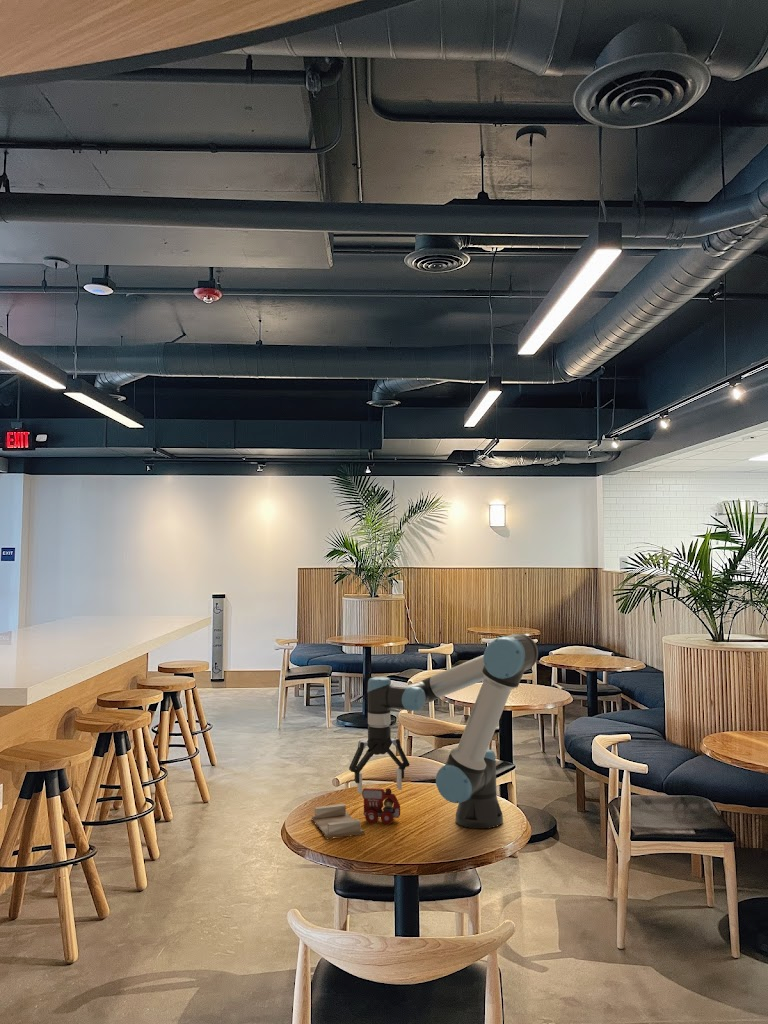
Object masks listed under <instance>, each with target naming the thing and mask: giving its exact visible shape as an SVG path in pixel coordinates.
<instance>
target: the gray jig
mask: <svg viewBox="0 0 768 1024" xmlns="http://www.w3.org/2000/svg"><path fill="white" fill-rule="evenodd" d="M346 807H347V806H346V804H345V803H339V804H331V805H324V806H315V807H314V816H311V820H312V819H313V821H314V822H315V823H316V825H317V826H318V827H319V829H320V830H321V831H322V833H323V834H324V835H325V837H326V838H333V837H341V838H344V837H343V836H348V837H351V836H350V835H355V836H360V835H364V834H365V830H364V829H363V828H362V827H361V820H360V819H359V818H356V819H355V818H354V819H353V817H352V816H351V815H350V814H349V813H348V812H347V810H346ZM313 821H312V822H313ZM314 822H313V823H314ZM315 823H314V824H315ZM316 825H315V826H316ZM317 826H316V827H317ZM318 827H317V828H318ZM319 829H318V830H319ZM320 830H319V831H320ZM321 831H320V832H321ZM322 833H321V834H322ZM323 834H322V835H323ZM324 835H323V836H324ZM325 837H324V838H325ZM326 838H325V839H326Z"/></svg>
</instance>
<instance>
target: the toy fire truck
mask: <svg viewBox="0 0 768 1024" xmlns="http://www.w3.org/2000/svg"><path fill="white" fill-rule="evenodd" d="M361 795H362V798H363V816H364V818H365V821H366V823H368V824H370V825H373V824H375V823H377V822H378V820H379V818H380V820H381V823H382V824H384V825H391V824H392V823H393V821H394V819H398V818H399V817H400V816H401V805H400V803H399V800H398V799H397V796H396V794H395V793H392V789H391V788H390V787H387V788H386V789H383V788H371V787H369V788H367V787H364V788H362V794H361Z"/></svg>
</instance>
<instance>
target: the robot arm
mask: <svg viewBox="0 0 768 1024" xmlns="http://www.w3.org/2000/svg"><path fill="white" fill-rule="evenodd" d="M538 658H539V649H538V646H537V643H536V642H535V641H534V639H533V638H531V637H530V636H528V635H526V634H524V633H523V634H522V633H514V634H510V635H503V636H500V637H497V638H496V639H494V640H492V641H491V642H489V644H488V645H487V646H486V648H485V650H484V652H483V655H480V656H479V655H478V656H477V657H474V658H473V659H470V660H467V661H465V662H463V663H461V664H458V665H455V666H453V667H451V668H449V669H446V670H443V671H442V672H439V673H437V674H434V675H432V676H430V677H427V678H424V679H422V680H420V681H417V682H414V683H409V684H407V685H399V684H398V685H397V684H396V685H395V684H392V683H391V679H390V677H385V676H375V677H370V678H369V679H368V681H367V724H368V726H367V741H362V740H358V744H357V749H356V751H355V753H354V755H353V759H352V761H351V762H350V765H349V767H348V770H349V771H350V772H352V773H354V782H355V784H357V787H356V788H357V793H358V794H359V795H362V791H363V773H362V772H361V771H362V770H363V769H364V768H365V766H366V764H367V763H368V761H370V759H371V758H372V757H373V756H374V755H375V756H378V755H385V754H386V753H387V754H388V756H389V757H390V758H391V759H392V760H393V762H394V763H395V764H396V765H397V766H398V767H396V789H398V790H399V791H402V787H403V785H402V784H403V783H402V779H405V770H406V768H408V767H410V762H409V761H408V758H407V756H406V754H405V753H404V750H403V748H402V746H401V740H400V739H399V738H397V737H394V738H393V739H391V737H392V736H391V731H392V730H391V729H392V728H391V723H392V722H391V721H392V720H391V709H395V710H402V711H403V710H404V711H409V712H412V711H414V712H415V711H417V712H419V711H421V710H422V709H423V707H425V704H428V703H432V702H434V701H435V700H437V699H440V698H442V697H445V696H447V695H450V694H453V693H455V692H458V691H460V690H463V689H465V688H468V687H471V686H473V685H475V684H478V683H481V682H482V684H481V687H480V689H479V691H478V695H477V696H476V698H475V699H476V700H475V702H474V705H473V707H472V710H471V712H470V715H469V718H468V720H467V722H466V725H465V727H464V730H463V732H462V735H461V738H460V739H459V742H458V745H457V747H454V748H452V749H451V750H450V752H449V755H448V756H447V757H448V758H447V760H446V762H445V764H444V765H443V766H441V767H440V768H439V770H438V771H437V773H436V776H435V785H436V788H437V790H438V792H439V794H440V795H441V796H442V798H443V799H445V800H446V801H448V802H449V803H451V804H458V805H457V807H456V810H455V811H456V812H455V823H456V822H457V823H458V824H457V823H456V824H457V825H459V826H461V827H463V826H464V827H465V828H467V827H469V828H468V829H473V828H488V829H490V828H489V827H493V826H497V825H500V824H501V823H502V822H503V823H504V815H503V812H502V809H501V807H500V802H499V800H498V795H497V764H496V763H497V760H496V754H495V752H494V750H492V749H489V747H490V743H491V742H492V739H493V737H494V734H495V732H496V729H497V726H498V724H499V721H500V719H501V718H502V714H503V711H504V708H505V707H506V704H507V702H508V698H509V696H510V694H511V691H512V690H514V689H516V688H517V689H518V688H519V685H520V683H521V680H522V678H523V675H524V674H525V672H527V671H528V670H530V669H531V668H533V667H534V666H535V664H536V663H537V660H538ZM392 745H393V746H395V749H396V750H397V753H398V755H399V756H400V759H401V761H402V762H401V761H400V759H399V758H398V757H397V756H396V755H395V753H394V752H393V751H392V750H391V746H392ZM366 747H367V748H368V749H367V750H366V752H365V754H364V755H363V752H364V749H366ZM362 755H363V756H362ZM503 823H502V824H503ZM502 824H501V825H502ZM501 825H500V826H501ZM497 827H498V826H497Z"/></svg>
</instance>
